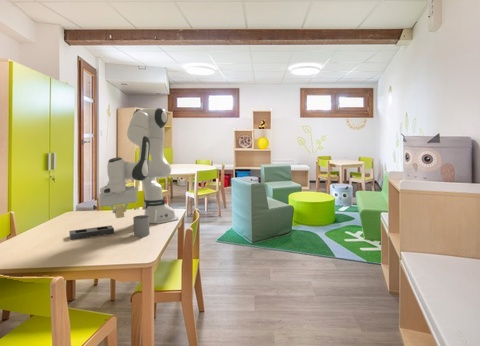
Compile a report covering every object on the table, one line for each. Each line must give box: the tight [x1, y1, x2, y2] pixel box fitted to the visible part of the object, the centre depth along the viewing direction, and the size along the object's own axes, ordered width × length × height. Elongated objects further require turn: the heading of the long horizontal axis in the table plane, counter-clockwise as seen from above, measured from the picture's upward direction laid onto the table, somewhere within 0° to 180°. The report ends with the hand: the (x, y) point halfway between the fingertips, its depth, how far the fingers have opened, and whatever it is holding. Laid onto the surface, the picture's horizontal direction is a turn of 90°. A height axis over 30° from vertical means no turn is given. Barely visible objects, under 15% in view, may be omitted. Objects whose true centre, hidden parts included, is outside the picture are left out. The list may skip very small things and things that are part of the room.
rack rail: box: [68, 224, 115, 241], centre depth 189 cm, size 22×8×3 cm, turn 120°
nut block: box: [114, 204, 125, 219], centre depth 188 cm, size 4×4×6 cm
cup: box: [132, 214, 151, 238], centre depth 189 cm, size 8×8×10 cm
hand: (119, 212), depth 188 cm, fingers closed on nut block, 4 cm apart
